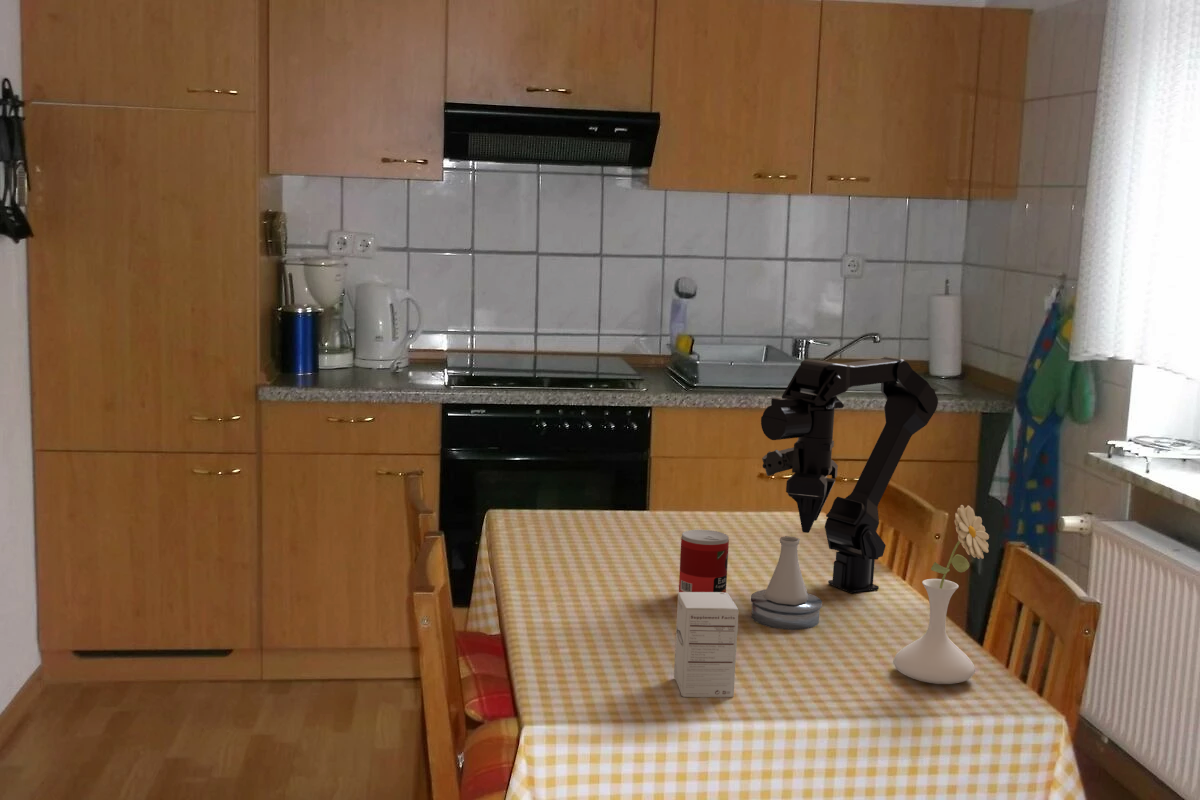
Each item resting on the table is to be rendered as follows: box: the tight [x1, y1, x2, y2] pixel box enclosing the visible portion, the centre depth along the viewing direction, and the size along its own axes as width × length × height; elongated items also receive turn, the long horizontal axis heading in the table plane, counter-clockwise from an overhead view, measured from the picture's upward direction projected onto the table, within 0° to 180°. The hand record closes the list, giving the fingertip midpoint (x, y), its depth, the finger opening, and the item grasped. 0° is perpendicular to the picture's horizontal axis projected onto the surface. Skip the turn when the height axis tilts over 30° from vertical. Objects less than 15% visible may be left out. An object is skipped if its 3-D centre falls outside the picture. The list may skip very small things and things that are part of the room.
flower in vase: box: [892, 504, 990, 685], centre depth 184 cm, size 13×11×25 cm
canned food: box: [678, 529, 730, 593], centre depth 218 cm, size 8×8×11 cm
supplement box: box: [673, 591, 739, 698], centre depth 177 cm, size 7×7×13 cm
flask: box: [763, 535, 808, 605], centre depth 208 cm, size 7×7×10 cm
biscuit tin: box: [750, 589, 823, 631], centre depth 210 cm, size 11×11×4 cm
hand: (809, 526), depth 220 cm, fingers open, 9 cm apart
